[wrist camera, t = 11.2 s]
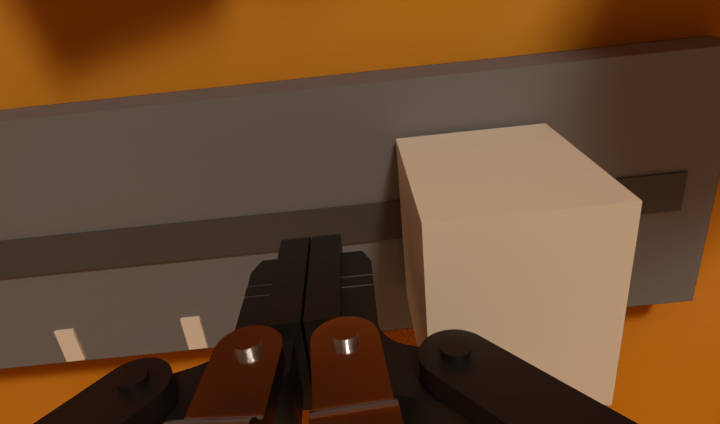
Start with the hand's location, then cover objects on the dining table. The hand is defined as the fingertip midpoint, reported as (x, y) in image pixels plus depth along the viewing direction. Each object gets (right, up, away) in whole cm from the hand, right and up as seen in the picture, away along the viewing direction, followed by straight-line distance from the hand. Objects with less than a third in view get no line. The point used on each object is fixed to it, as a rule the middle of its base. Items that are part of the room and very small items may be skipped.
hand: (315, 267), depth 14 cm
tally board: (0, +2, +3) cm, 4 cm away
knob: (+4, +1, +2) cm, 5 cm away
